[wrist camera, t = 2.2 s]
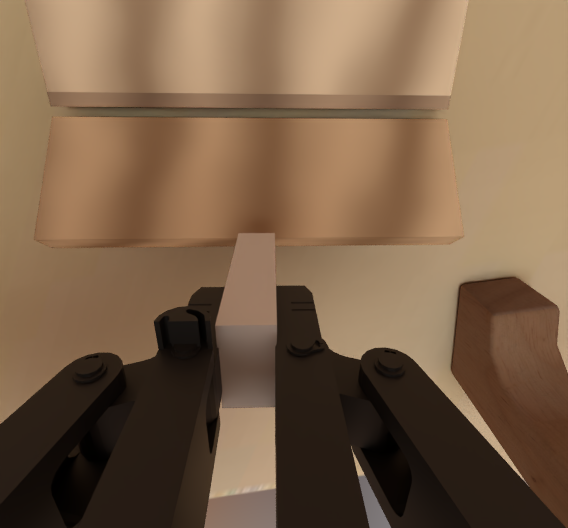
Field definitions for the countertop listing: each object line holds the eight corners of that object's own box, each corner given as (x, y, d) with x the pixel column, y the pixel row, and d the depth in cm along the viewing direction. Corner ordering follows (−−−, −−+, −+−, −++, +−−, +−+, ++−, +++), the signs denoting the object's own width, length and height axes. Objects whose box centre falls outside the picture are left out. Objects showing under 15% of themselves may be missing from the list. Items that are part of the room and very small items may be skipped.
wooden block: (458, 282, 26) (765, 572, 10) (517, 275, 26) (921, 554, 10) (449, 372, 30) (661, 688, 14) (500, 366, 30) (774, 675, 14)
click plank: (52, 247, 19) (33, 239, 17) (68, 133, 20) (52, 116, 19) (449, 244, 20) (464, 236, 18) (435, 134, 21) (447, 119, 20)
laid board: (66, 106, 20) (50, 106, 19) (33, -36, 17) (11, -49, 16) (435, 109, 21) (448, 109, 20) (459, -25, 18) (476, -37, 17)
